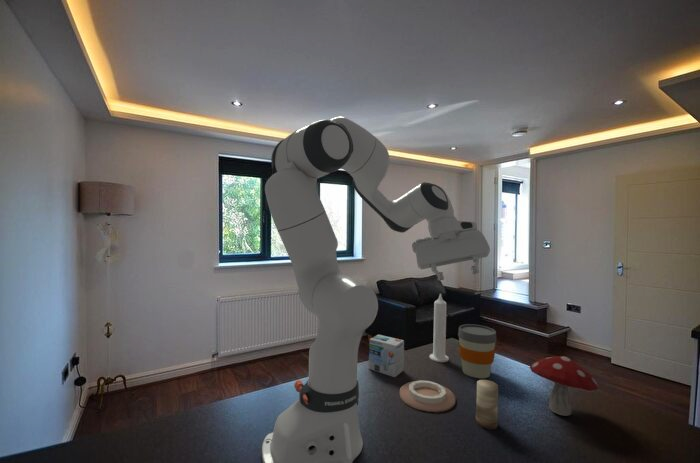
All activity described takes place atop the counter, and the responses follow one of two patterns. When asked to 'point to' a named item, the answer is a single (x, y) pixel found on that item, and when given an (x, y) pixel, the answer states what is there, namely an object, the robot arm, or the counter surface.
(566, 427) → the counter surface
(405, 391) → the collar dish
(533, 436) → the counter surface
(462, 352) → the reusable coffee cup
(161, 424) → the counter surface
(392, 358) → the light bulb box
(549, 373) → the decorative mushroom
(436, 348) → the candle
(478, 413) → the beige cylinder
